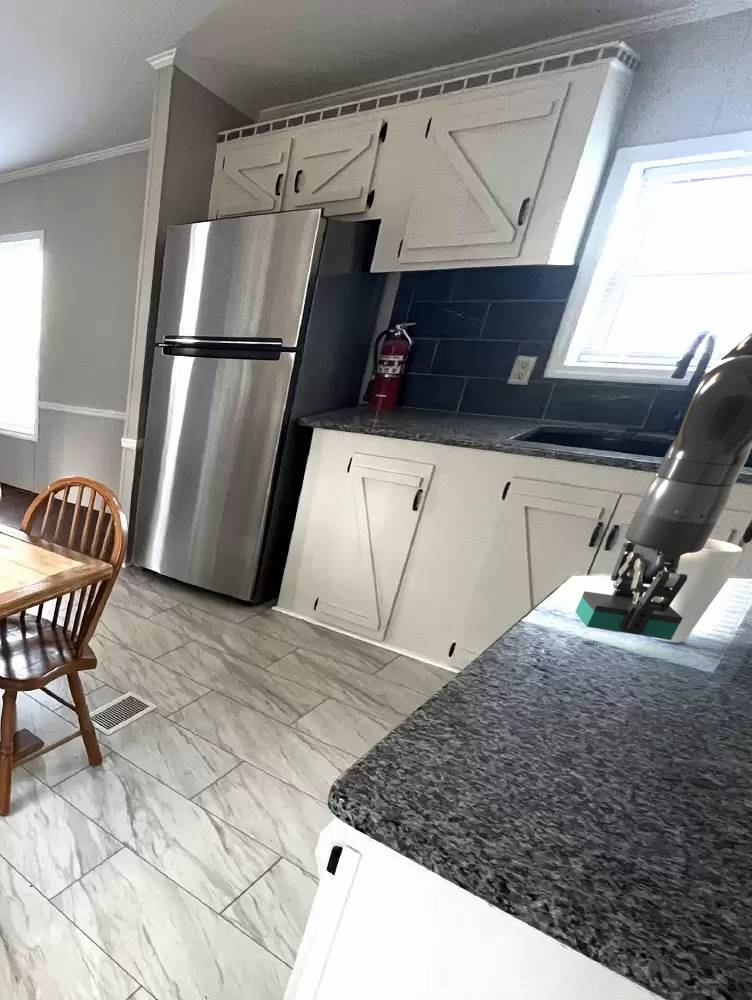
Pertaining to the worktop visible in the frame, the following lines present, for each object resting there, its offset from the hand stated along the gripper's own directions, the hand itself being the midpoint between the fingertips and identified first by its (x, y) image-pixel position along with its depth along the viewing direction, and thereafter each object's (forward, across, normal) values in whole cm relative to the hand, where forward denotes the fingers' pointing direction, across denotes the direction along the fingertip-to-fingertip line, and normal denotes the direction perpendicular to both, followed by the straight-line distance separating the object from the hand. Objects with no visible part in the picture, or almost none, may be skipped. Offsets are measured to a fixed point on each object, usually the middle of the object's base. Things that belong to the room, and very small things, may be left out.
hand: (622, 622), depth 92 cm
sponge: (0, 0, 0) cm, 0 cm away
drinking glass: (+4, +8, -8) cm, 12 cm away
